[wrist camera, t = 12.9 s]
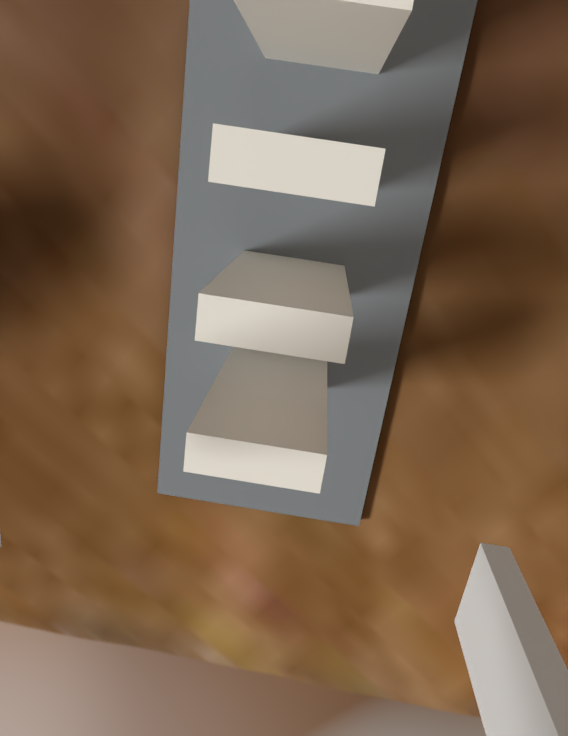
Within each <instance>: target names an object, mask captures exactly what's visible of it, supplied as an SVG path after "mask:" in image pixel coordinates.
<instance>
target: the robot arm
mask: <svg viewBox="0 0 568 736" xmlns="http://www.w3.org/2000/svg"><path fill="white" fill-rule="evenodd" d="M0 547H1V536H0ZM454 622H455V625H456V629H457V632H458V636H459V640H460V643H461V647H462V650H463V654H464V658H465V661H466V665H467V668H468V672H469V676H470V679H471V683H472V686H473V690H474V694H475V697H476V701H477V704H478V708H479V712H480V715H481V719H482V722H483V726H484V730H485V733H486V736H568V670H567V668H566V666H565V664H564V662H563V659H562V657H561V655H560V653H559V651H558V649H557V647H556V645H555V643H554V640H553V638H552V636H551V634H550V632H549V630H548V628H547V626H546V624H545V621H544V619H543V617H542V615H541V613H540V611H539V609H538V607H537V605H536V603H535V600H534V598H533V596H532V594H531V592H530V590H529V588H528V586H527V584H526V581H525V579H524V577H523V575H522V573H521V571H520V569H519V567H518V565H517V563H516V560H515V558H514V556H513V554H512V552H511V550H510V548H509V547H503V546H497V545H491V544H485V543H480V546H479V549H478V552H477V555H476V558H475V561H474V564H473V567H472V570H471V573H470V576H469V579H468V582H467V585H466V588H465V591H464V594H463V597H462V600H461V603H460V606H459V609H458V612H457V615H456V618H455V621H454Z"/></svg>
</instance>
